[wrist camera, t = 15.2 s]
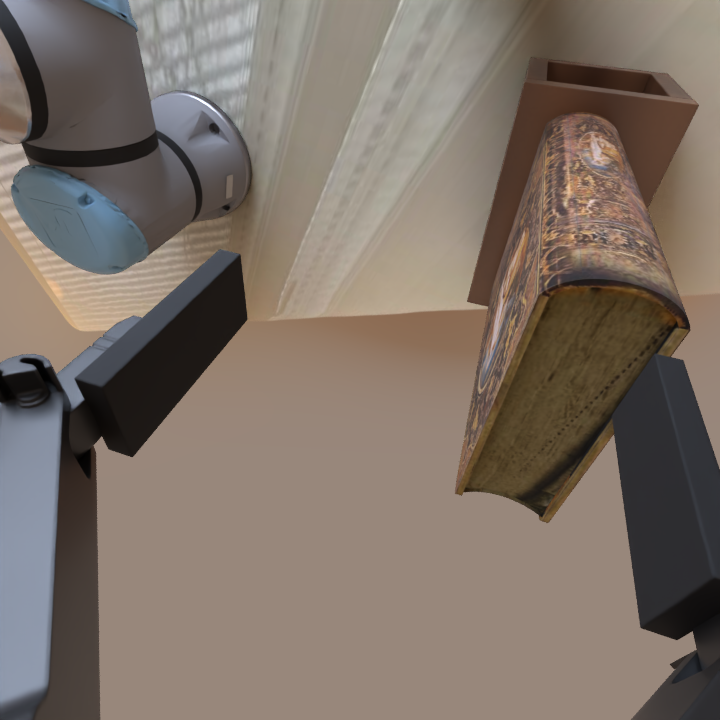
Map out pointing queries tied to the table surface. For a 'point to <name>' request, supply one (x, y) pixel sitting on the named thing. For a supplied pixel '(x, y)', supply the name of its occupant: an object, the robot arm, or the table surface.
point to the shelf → (591, 95)
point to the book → (567, 320)
